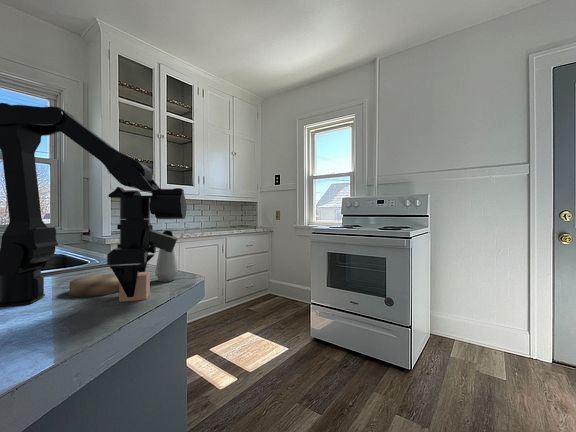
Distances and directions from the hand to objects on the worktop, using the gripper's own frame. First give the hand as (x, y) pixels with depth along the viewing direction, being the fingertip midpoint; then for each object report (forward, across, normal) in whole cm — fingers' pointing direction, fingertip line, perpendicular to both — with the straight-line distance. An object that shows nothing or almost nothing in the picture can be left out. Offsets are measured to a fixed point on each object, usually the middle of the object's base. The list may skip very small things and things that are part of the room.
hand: (135, 291), depth 61 cm
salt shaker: (+1, +16, -5) cm, 17 cm away
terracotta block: (+1, 0, 0) cm, 1 cm away
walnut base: (+1, +10, +9) cm, 14 cm away
